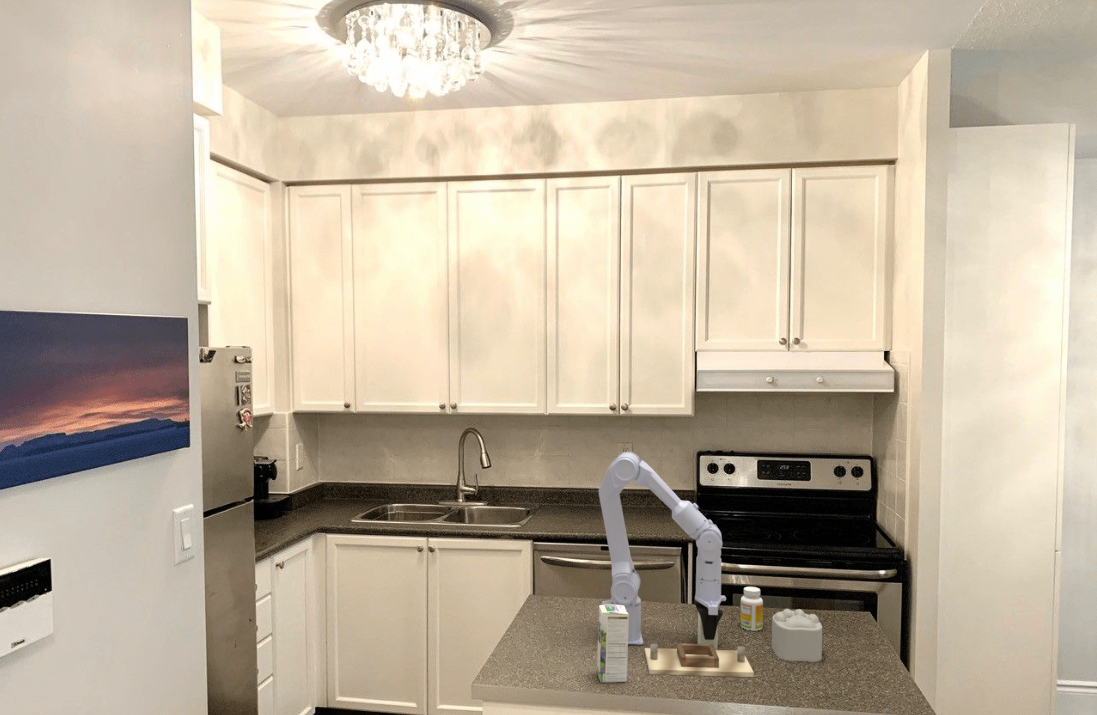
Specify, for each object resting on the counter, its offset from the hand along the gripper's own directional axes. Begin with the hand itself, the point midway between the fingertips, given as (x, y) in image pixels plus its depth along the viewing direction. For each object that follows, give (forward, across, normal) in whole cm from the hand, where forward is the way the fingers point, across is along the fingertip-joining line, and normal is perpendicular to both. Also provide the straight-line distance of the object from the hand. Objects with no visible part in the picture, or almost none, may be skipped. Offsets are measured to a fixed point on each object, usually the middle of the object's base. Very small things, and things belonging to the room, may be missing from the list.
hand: (707, 635), depth 183 cm
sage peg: (+2, 0, 0) cm, 2 cm away
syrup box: (+3, -19, +23) cm, 30 cm away
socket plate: (+2, -11, +4) cm, 12 cm away
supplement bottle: (+3, +13, -13) cm, 19 cm away
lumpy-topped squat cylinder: (+3, -1, -20) cm, 20 cm away
